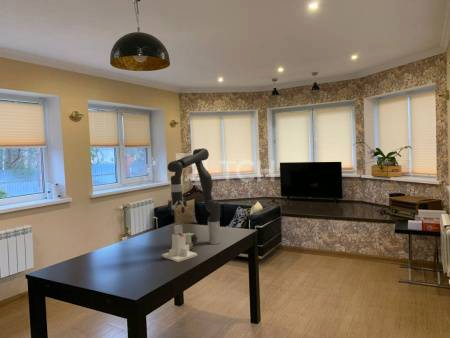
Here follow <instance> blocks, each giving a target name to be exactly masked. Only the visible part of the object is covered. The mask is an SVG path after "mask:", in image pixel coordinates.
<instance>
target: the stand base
mask: <svg viewBox="0 0 450 338" xmlns="http://www.w3.org/2000/svg"><path fill="white" fill-rule="evenodd" d="M186 244H187V243H186V238H185V233H183V234H180V235H175V233H173V234H171V248H169V249H168V252H166V253H161V257H162V258H165V259H168V260H171V261H173V262H175V263H179V262H182V261H185V260H188V259H191V258H194V257H197V256H198V253H197V252H193V251H190V249H189V243H188V244H187V245H186Z"/></svg>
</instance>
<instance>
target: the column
mask: <svg viewBox="0 0 450 338" xmlns="http://www.w3.org/2000/svg"><path fill="white" fill-rule="evenodd" d="M173 227H174V228H173V232H174V233H173V234H175V235H180V234H184V231H183V225H182V224H177V225H174V226H173Z"/></svg>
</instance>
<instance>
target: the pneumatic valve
mask: <svg viewBox="0 0 450 338" xmlns="http://www.w3.org/2000/svg"><path fill="white" fill-rule="evenodd" d="M184 234H185V238H186V245H187V244H189V250H191V249H193V248H194V244H196V243H197V242H198V236H197V234H196V233H190V232H185V233H184Z"/></svg>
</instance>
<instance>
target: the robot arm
mask: <svg viewBox="0 0 450 338" xmlns="http://www.w3.org/2000/svg"><path fill="white" fill-rule="evenodd" d="M209 155H210V154H209V150H208V149H207V148H196V149H194V150H193V152H192V154H190V155H187V156H184V157H182V158H180V159H176V160H173V161H170V162H169V163H168V164H167V170H168V171H169V172H171V173H174V175H171V176H170V196H171V199H170V200H169V199H168V200H167V210H170V215H171V216H174V215H175V208H176V207H177V206H180V207H181V209H180V210H181V214H185V212H186V211H185V208H186V207H187V206H188V204H187V197H183V187H182V186H183V185H182V174H183V170H184V169H185V168H187V167H189V166H191V165H193V164H195V167H196V170H197V174H198V178H199V183H200V186H201V190H202V191H201V192H202V194H203V201H204V207H205V210H206V211H207V212H209V213H210V216H208V217H207V234H208V236H207V237H208V244H212V245H217V244H220V243H221V242H222V230H221V228H220V227H221V226H220V224H221V222H220V218H221V203H220V202H219V201H217V200H214V199H213V195H212V190H213V179H212V176H211V174H210V173H209V171H208V170H207V169H206V168H205V165H204V163H203V162H205V161H206V160H208V158H209Z"/></svg>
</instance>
